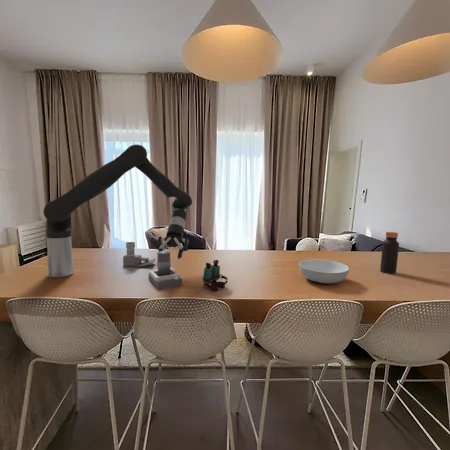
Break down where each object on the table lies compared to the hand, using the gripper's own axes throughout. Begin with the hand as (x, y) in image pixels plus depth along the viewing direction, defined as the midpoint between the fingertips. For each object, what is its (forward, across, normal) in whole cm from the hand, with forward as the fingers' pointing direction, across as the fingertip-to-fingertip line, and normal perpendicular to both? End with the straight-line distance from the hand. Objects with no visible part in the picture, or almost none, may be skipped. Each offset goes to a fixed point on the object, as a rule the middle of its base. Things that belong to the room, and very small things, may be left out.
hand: (169, 257), depth 119 cm
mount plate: (+11, 0, +2) cm, 11 cm away
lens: (+9, 0, 0) cm, 9 cm away
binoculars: (+14, +22, 0) cm, 26 cm away
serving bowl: (+2, +68, +12) cm, 69 cm away
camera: (-5, -21, +18) cm, 28 cm away
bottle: (-10, +104, +24) cm, 107 cm away
